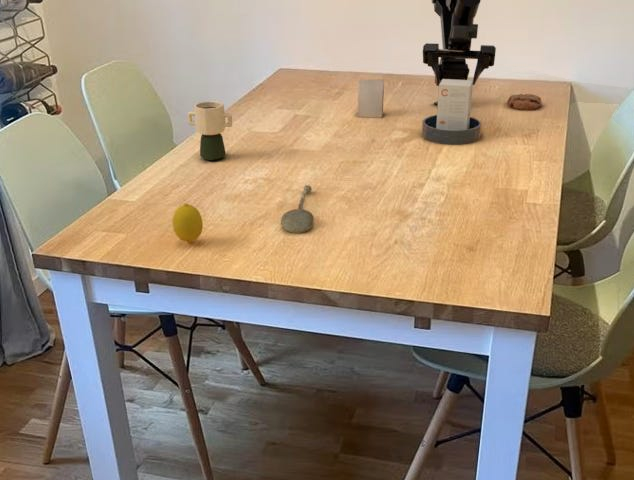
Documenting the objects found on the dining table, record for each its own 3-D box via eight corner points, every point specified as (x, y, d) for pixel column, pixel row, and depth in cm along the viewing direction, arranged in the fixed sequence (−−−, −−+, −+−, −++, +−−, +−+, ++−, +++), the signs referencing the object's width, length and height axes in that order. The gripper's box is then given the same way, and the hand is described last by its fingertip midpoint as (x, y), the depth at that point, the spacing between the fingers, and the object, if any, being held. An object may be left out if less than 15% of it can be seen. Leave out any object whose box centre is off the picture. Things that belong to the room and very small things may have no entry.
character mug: (238, 154, 191) (235, 101, 184) (230, 164, 185) (227, 109, 178) (196, 152, 193) (191, 100, 186) (187, 161, 187) (182, 108, 180)
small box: (469, 130, 205) (473, 79, 198) (466, 137, 200) (471, 85, 193) (438, 127, 207) (442, 78, 200) (435, 134, 202) (438, 83, 195)
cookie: (546, 103, 228) (548, 93, 227) (534, 112, 221) (536, 101, 219) (514, 99, 233) (515, 89, 231) (501, 107, 225) (502, 97, 224)
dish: (410, 133, 205) (410, 120, 203) (453, 123, 212) (454, 111, 210) (448, 148, 194) (449, 134, 192) (492, 137, 201) (493, 124, 199)
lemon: (176, 237, 149) (171, 198, 145) (204, 236, 149) (201, 197, 145) (174, 249, 144) (169, 210, 140) (203, 248, 145) (199, 208, 140)
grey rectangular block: (381, 117, 218) (382, 81, 212) (357, 116, 219) (358, 80, 214) (383, 113, 221) (384, 78, 216) (359, 112, 222) (360, 77, 217)
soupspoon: (278, 235, 151) (311, 238, 150) (278, 220, 149) (311, 222, 149) (293, 190, 169) (323, 193, 169) (293, 176, 167) (323, 178, 167)
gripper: (425, 10, 198) (419, 64, 195) (499, 12, 195) (494, 67, 191) (426, 36, 209) (420, 88, 206) (496, 39, 206) (491, 91, 202)
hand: (455, 83), depth 201 cm, fingers open, 9 cm apart
